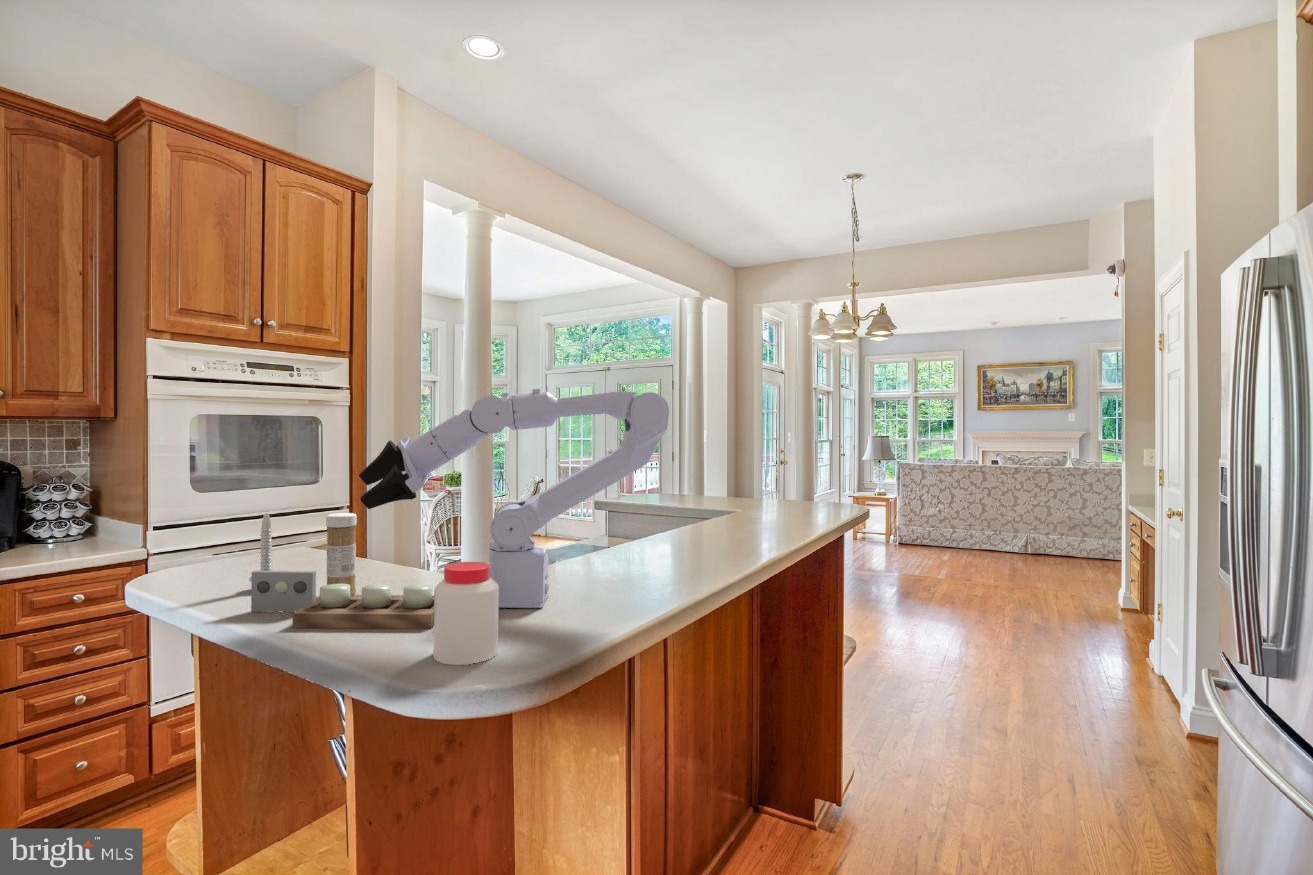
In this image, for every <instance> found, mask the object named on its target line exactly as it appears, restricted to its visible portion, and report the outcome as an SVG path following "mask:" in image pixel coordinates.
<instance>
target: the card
mask: <svg viewBox="0 0 1313 875" xmlns="http://www.w3.org/2000/svg"><path fill="white" fill-rule="evenodd" d="M251 576H252V580H251V582H250V583H251V589H250V590H251V591H250V592H251V595H250V598H251V599H250V600H251V601H250V602H251V603H250V605H251V606H250V608H251V613H268V612H267V611H298V610H300V609H302V608H304V607H306V606H307V605H309V604H311V603H313V602H315V601H317V600H316V599H317V589H316V588H317V571H316V570H272V571H260V570H253V571H251ZM263 611H264V612H263Z"/></svg>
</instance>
